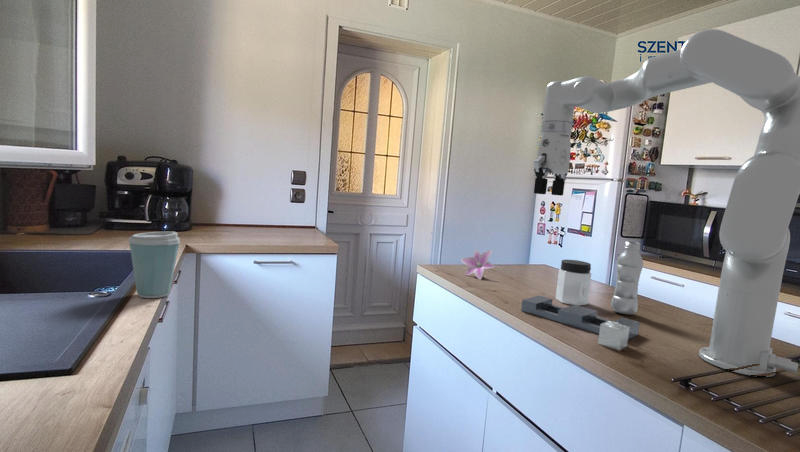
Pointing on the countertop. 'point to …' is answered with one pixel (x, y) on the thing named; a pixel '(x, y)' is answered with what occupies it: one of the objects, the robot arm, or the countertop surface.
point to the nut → (613, 335)
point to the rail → (573, 315)
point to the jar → (573, 282)
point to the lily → (478, 263)
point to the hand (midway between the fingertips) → (548, 194)
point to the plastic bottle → (627, 279)
